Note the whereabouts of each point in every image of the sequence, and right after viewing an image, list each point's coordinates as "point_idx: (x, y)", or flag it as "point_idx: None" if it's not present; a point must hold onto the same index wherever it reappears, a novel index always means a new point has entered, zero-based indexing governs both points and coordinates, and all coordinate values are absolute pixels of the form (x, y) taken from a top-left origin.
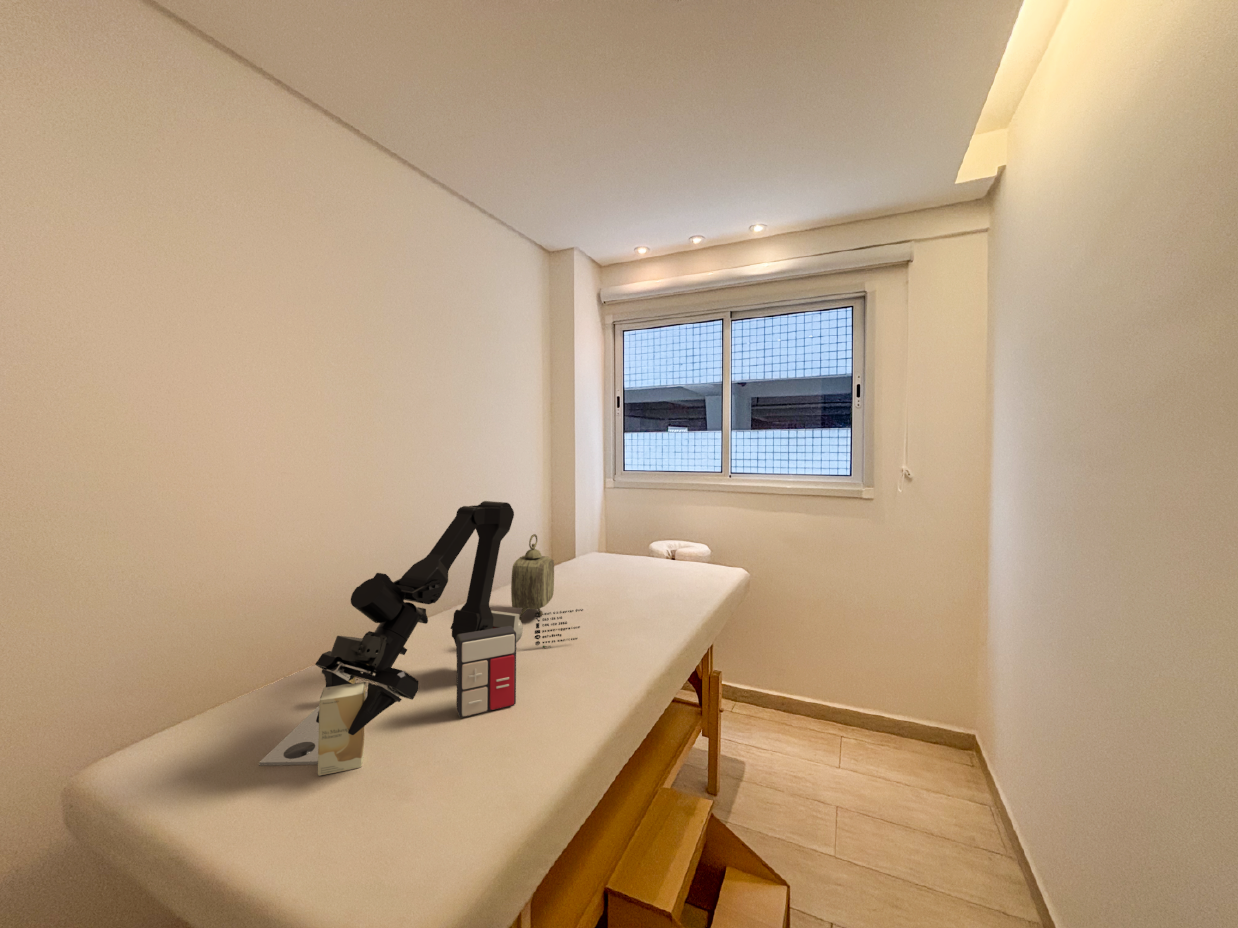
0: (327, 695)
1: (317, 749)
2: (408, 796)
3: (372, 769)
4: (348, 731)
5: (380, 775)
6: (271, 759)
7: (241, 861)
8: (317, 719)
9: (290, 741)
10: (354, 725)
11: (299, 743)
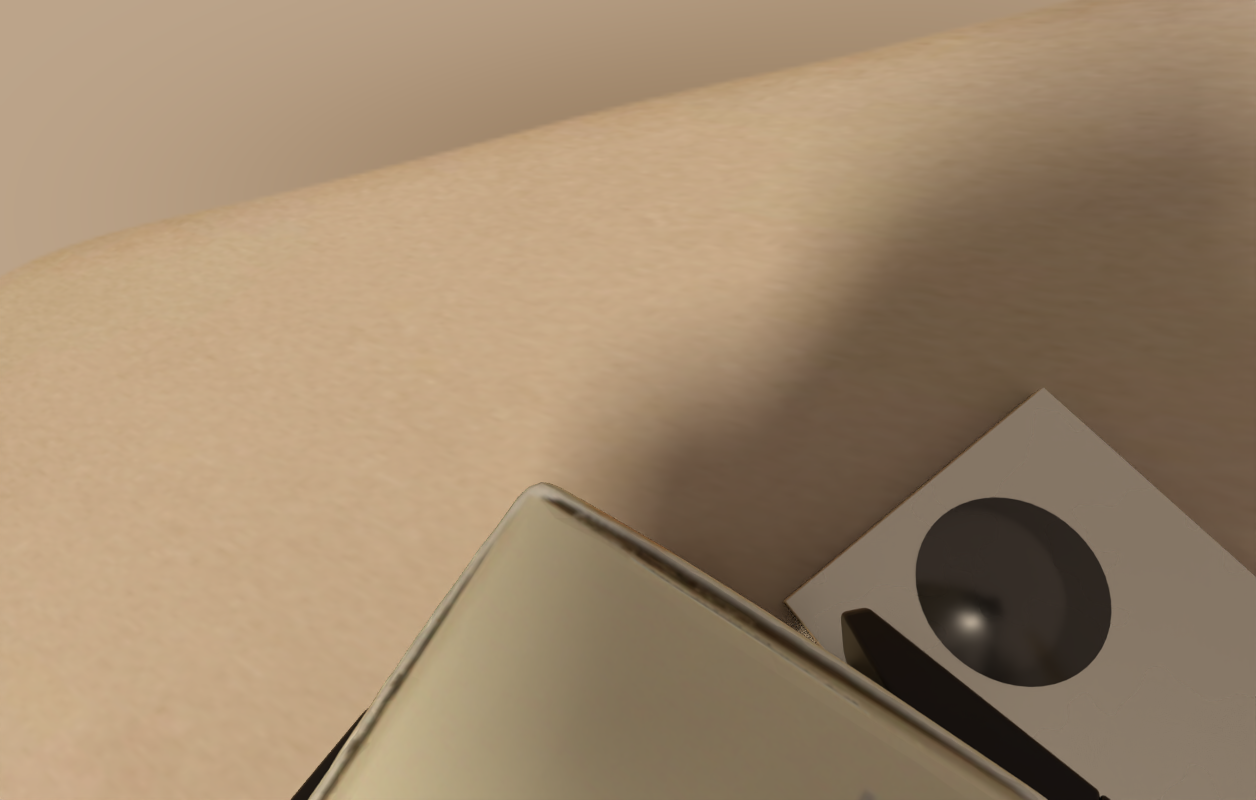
0: (574, 657)
1: None
2: (107, 770)
3: None
4: None
5: None
6: (1024, 440)
7: (415, 189)
8: (862, 619)
9: (1182, 594)
10: (315, 774)
11: (1105, 622)
